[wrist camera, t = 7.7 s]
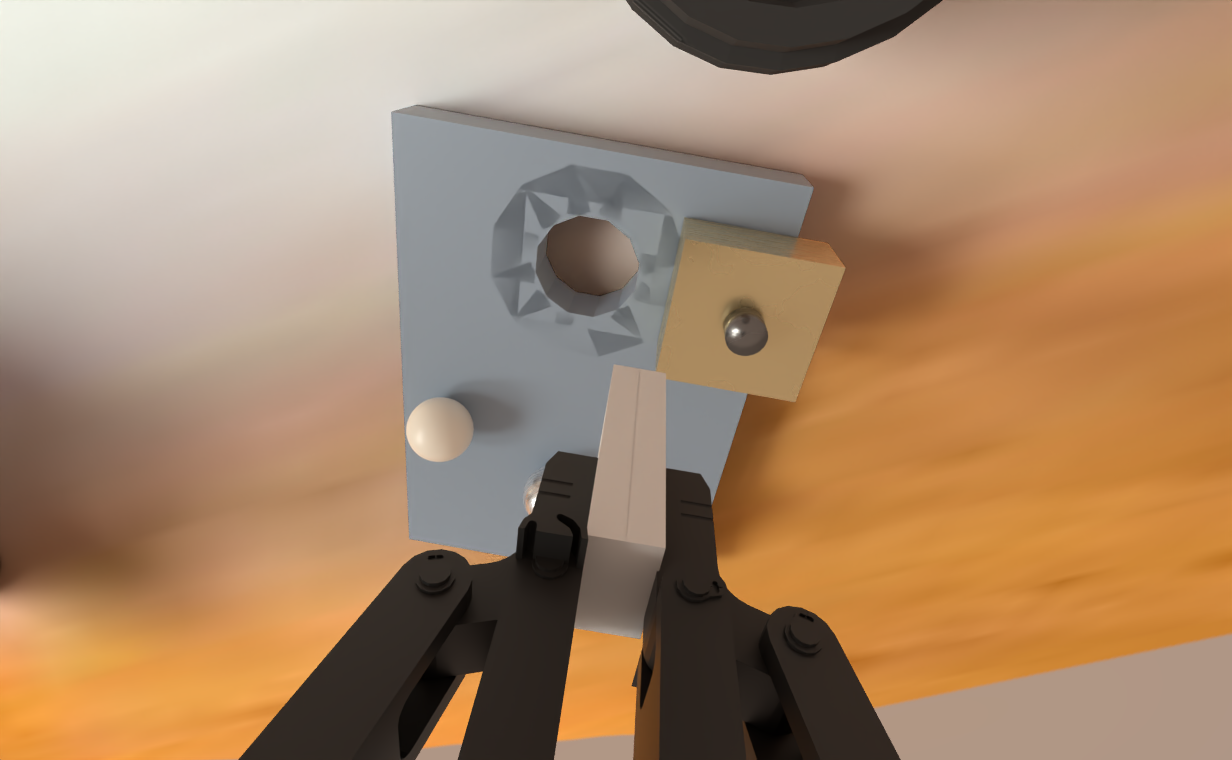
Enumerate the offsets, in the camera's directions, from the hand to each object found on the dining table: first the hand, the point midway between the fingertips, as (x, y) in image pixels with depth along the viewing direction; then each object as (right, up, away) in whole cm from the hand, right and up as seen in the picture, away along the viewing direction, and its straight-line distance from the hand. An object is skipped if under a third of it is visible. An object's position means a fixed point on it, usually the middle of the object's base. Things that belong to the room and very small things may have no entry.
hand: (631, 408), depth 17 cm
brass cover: (+5, +5, +9) cm, 11 cm away
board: (-3, +1, +14) cm, 15 cm away
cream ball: (-9, -2, +12) cm, 15 cm away
